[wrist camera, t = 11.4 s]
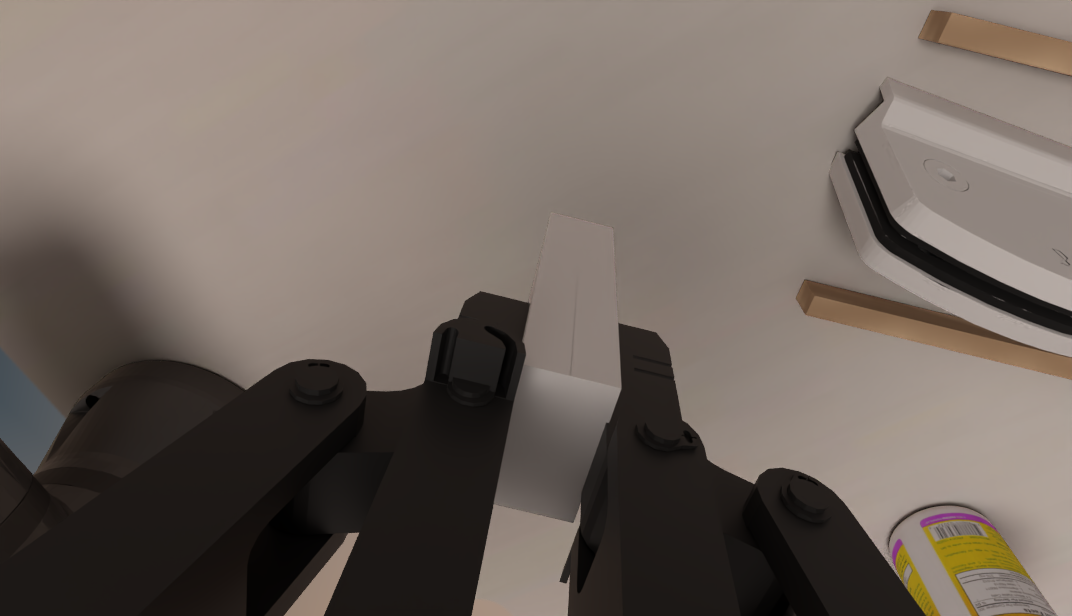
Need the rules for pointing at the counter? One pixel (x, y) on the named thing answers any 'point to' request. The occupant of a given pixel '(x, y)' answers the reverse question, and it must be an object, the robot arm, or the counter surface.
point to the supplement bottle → (962, 566)
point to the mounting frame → (926, 322)
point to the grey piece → (964, 213)
